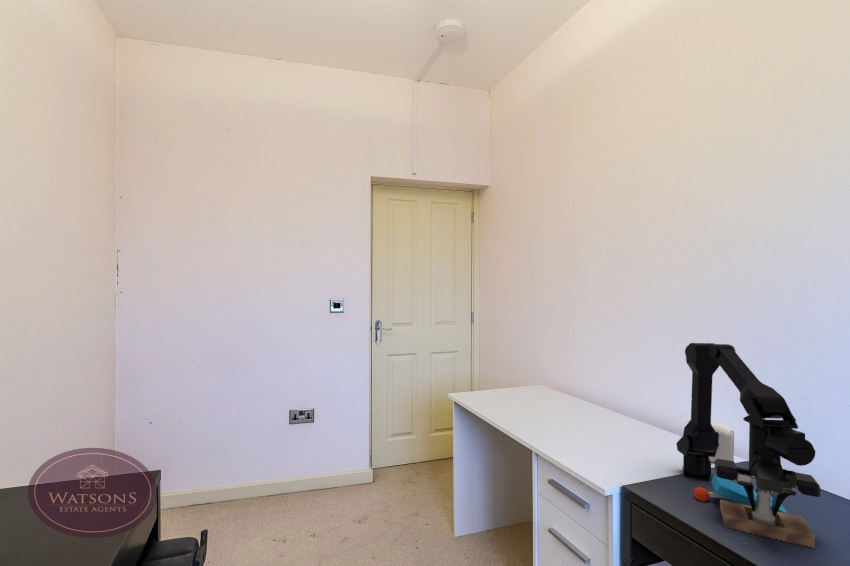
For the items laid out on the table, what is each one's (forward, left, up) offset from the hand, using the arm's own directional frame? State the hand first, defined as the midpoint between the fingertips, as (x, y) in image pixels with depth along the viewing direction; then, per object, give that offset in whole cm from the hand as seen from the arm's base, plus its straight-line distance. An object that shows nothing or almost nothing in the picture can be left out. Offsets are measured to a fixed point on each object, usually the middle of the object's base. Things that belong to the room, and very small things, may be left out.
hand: (763, 512), depth 99 cm
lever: (-4, +8, -4) cm, 10 cm away
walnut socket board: (0, 0, -3) cm, 3 cm away
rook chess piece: (0, 0, -3) cm, 2 cm away
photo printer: (-6, +38, -4) cm, 39 cm away
